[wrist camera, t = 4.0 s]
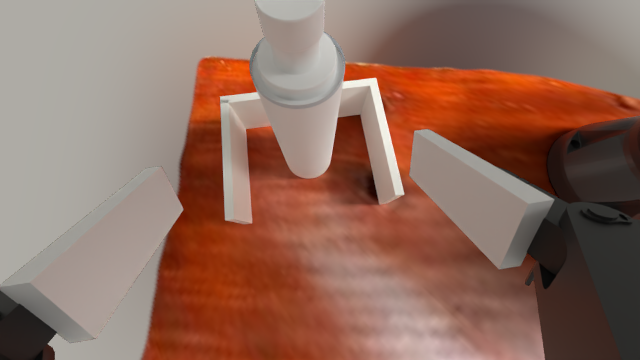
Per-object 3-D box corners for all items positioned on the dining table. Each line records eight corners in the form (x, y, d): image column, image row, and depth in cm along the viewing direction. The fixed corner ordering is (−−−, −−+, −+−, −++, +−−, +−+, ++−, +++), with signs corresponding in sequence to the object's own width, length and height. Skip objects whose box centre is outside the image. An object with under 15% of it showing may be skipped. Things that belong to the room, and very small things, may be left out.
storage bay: (365, 108, 36) (375, 77, 29) (386, 203, 32) (404, 194, 25) (239, 124, 35) (220, 96, 28) (245, 224, 31) (225, 220, 24)
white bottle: (304, 188, 33) (266, 42, 8) (277, 154, 34) (175, -57, 10) (340, 160, 34) (395, -39, 10) (312, 128, 35) (298, -118, 11)
